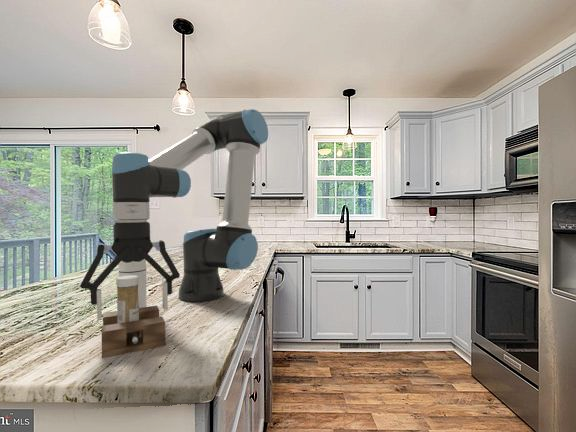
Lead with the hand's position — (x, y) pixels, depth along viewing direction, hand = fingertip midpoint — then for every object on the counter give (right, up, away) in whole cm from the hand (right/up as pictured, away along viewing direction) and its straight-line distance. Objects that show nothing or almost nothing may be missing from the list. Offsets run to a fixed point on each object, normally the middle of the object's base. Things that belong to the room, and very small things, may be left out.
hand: (133, 313), depth 72 cm
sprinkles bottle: (-1, -5, -1) cm, 5 cm away
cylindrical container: (-9, -6, +18) cm, 21 cm away
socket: (0, -6, 0) cm, 6 cm away
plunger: (+3, -5, -5) cm, 7 cm away
